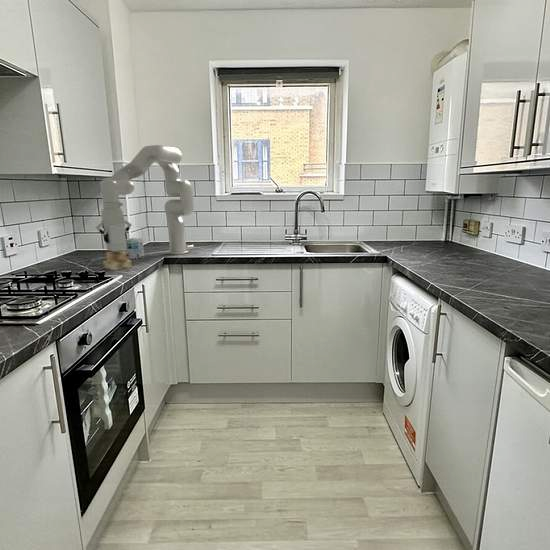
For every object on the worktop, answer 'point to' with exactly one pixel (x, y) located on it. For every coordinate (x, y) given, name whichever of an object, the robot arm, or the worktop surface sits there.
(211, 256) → the worktop surface
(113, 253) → the tower top block
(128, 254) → the light bulb box
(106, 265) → the tower base block
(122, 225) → the supplement box
